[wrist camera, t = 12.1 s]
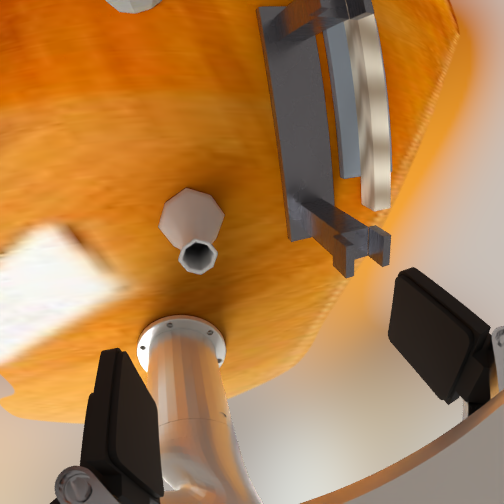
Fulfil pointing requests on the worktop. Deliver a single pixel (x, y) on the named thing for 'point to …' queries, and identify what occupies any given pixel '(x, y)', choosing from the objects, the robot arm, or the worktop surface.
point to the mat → (345, 101)
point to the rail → (370, 111)
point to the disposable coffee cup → (133, 5)
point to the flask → (192, 228)
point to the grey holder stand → (311, 129)
